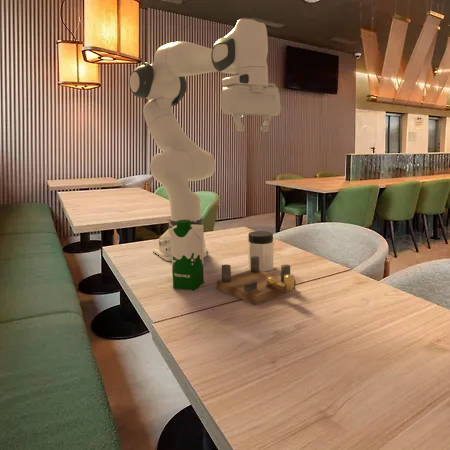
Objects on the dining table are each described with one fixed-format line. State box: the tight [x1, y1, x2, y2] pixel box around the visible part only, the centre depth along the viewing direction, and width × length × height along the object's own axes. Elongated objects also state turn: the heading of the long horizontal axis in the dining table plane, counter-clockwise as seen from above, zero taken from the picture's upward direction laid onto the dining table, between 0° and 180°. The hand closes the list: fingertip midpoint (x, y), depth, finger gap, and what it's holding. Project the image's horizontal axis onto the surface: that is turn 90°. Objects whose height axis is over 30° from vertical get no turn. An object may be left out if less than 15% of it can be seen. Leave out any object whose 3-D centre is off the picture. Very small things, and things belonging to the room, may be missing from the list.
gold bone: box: [267, 273, 295, 294], centre depth 104 cm, size 9×3×4 cm, turn 42°
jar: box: [247, 230, 274, 272], centre depth 128 cm, size 9×8×12 cm
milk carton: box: [168, 220, 205, 291], centre depth 113 cm, size 9×9×20 cm
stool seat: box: [216, 256, 296, 306], centre depth 110 cm, size 16×16×7 cm
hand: (252, 131), depth 111 cm, fingers open, 8 cm apart
